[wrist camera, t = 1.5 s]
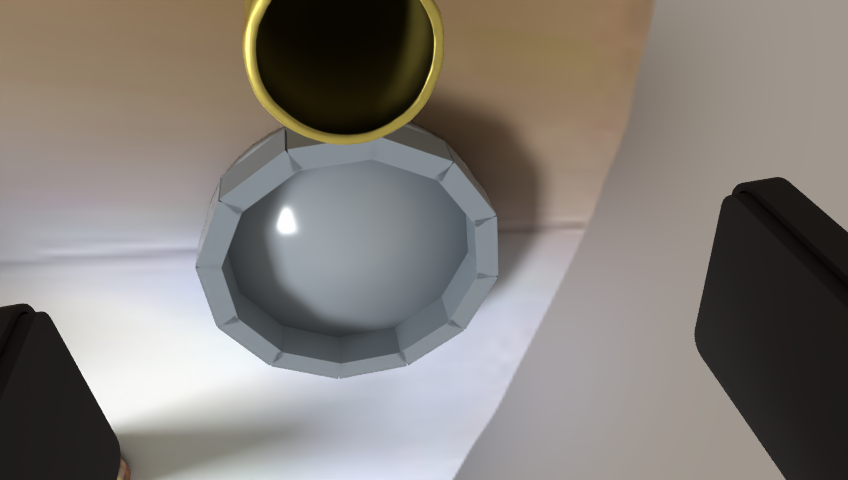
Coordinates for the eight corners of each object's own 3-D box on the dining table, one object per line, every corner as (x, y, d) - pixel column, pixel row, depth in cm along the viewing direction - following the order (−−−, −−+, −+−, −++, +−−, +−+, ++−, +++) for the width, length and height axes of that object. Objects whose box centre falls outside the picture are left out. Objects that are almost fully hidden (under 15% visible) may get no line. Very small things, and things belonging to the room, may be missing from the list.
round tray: (167, 138, 33) (159, 169, 31) (479, 90, 35) (494, 116, 32) (244, 359, 42) (242, 397, 40) (487, 315, 44) (500, 348, 41)
